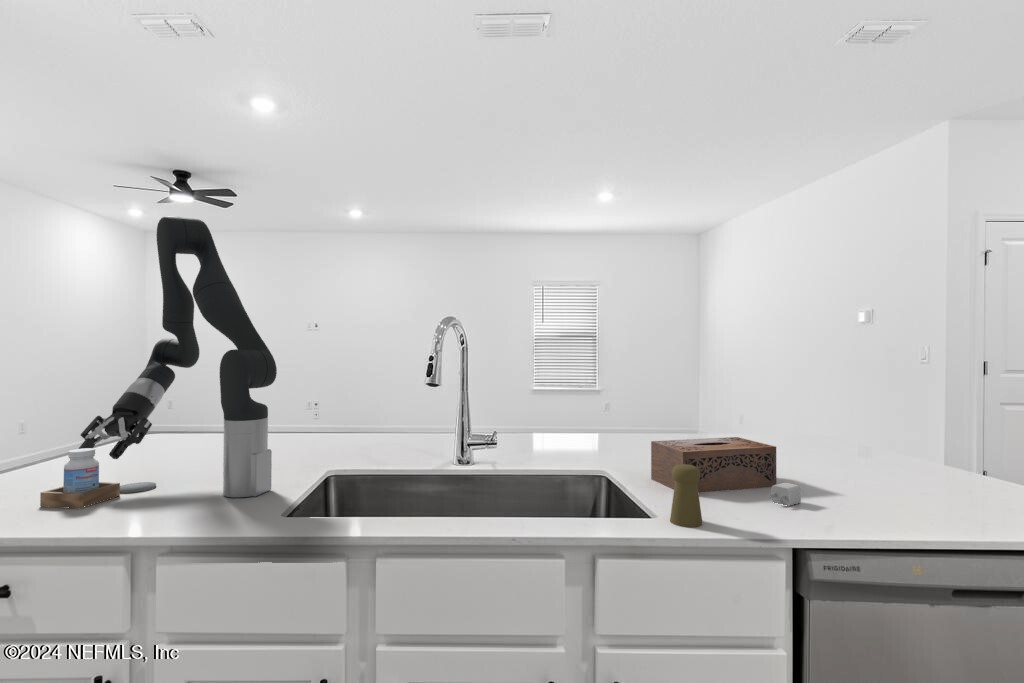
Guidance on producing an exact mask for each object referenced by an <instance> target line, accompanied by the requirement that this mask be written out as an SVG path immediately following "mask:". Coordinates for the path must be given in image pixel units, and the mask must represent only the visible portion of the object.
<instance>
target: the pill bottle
mask: <svg viewBox="0 0 1024 683" xmlns="http://www.w3.org/2000/svg"><path fill="white" fill-rule="evenodd" d="M95 455H96V448H94V447H93V448H83V449H78V448H76V449H70V450H68V459H69V460H68V461H66V462H65V464H64V466H63V486H62V487H63V492H65V493H83V492H86V491H90V490H93V489H97V488H99V482H100V462H99V460H98V459H97V458H95Z"/></svg>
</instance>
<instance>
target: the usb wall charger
mask: <svg viewBox="0 0 1024 683" xmlns="http://www.w3.org/2000/svg"><path fill="white" fill-rule="evenodd" d="M801 498H802V488H801V486H800V485H798V484H794V483H790V482H789V483H788V482H781V483H778V484H777V483H776V485H773V486H772V487H771V494H768V499H771V502H772V503H773V502H774V503H773V504H775V503H778V504H783V505H787V506H788V507H791V506H790V505H792V506H795V505H794V504H796V505H799V504H801V501H802V499H801ZM798 503H799V504H798ZM778 504H777V505H778Z"/></svg>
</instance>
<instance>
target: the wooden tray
mask: <svg viewBox="0 0 1024 683" xmlns="http://www.w3.org/2000/svg"><path fill="white" fill-rule="evenodd" d="M120 486H121V483H120V482H108V481H107V482H106V481H104V482H103V481H99V488H97V489H93V490H90V491H86V492H83V493H65V492H63V486H60V487H57V488H53V489H48V490H45V491H41V492H40V493H39V494H40V497H39V498H40V504H39V506H47V507H46V508H55V507H69V508H68V509H73V508H81V509H83V508H82V507H84V506H87V507H89V506H88V505H90V506H92V505H91V504H93V505H95V504H94V503H97V502H100V501H103V500H106V501H108V500H107V499H109V500H111V499H110V498H113V497H116V498H118V497H117V496H119V497H120V494H121V493H120ZM113 499H114V498H113ZM103 502H104V501H103ZM100 503H101V502H100ZM97 504H98V503H97ZM48 506H49V507H48ZM84 508H85V507H84Z"/></svg>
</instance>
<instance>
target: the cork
mask: <svg viewBox="0 0 1024 683" xmlns="http://www.w3.org/2000/svg"><path fill="white" fill-rule="evenodd" d="M672 477H673V479H674V481H675V487H674V490H673V495H672V503H671V510H670V518H669V521H670V523H671V524H672V525H675V526H677V527H682V528H698V527H702V526H703V524H702V523H703V517H702V510H701V502H700V495H699V494H700V493H698V486H697V483H698V482H699V479H700V471H699V469H698V468H697V467H695V466H692V465H687V464H682V465H676V466H675V467H674V468H673V471H672Z"/></svg>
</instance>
